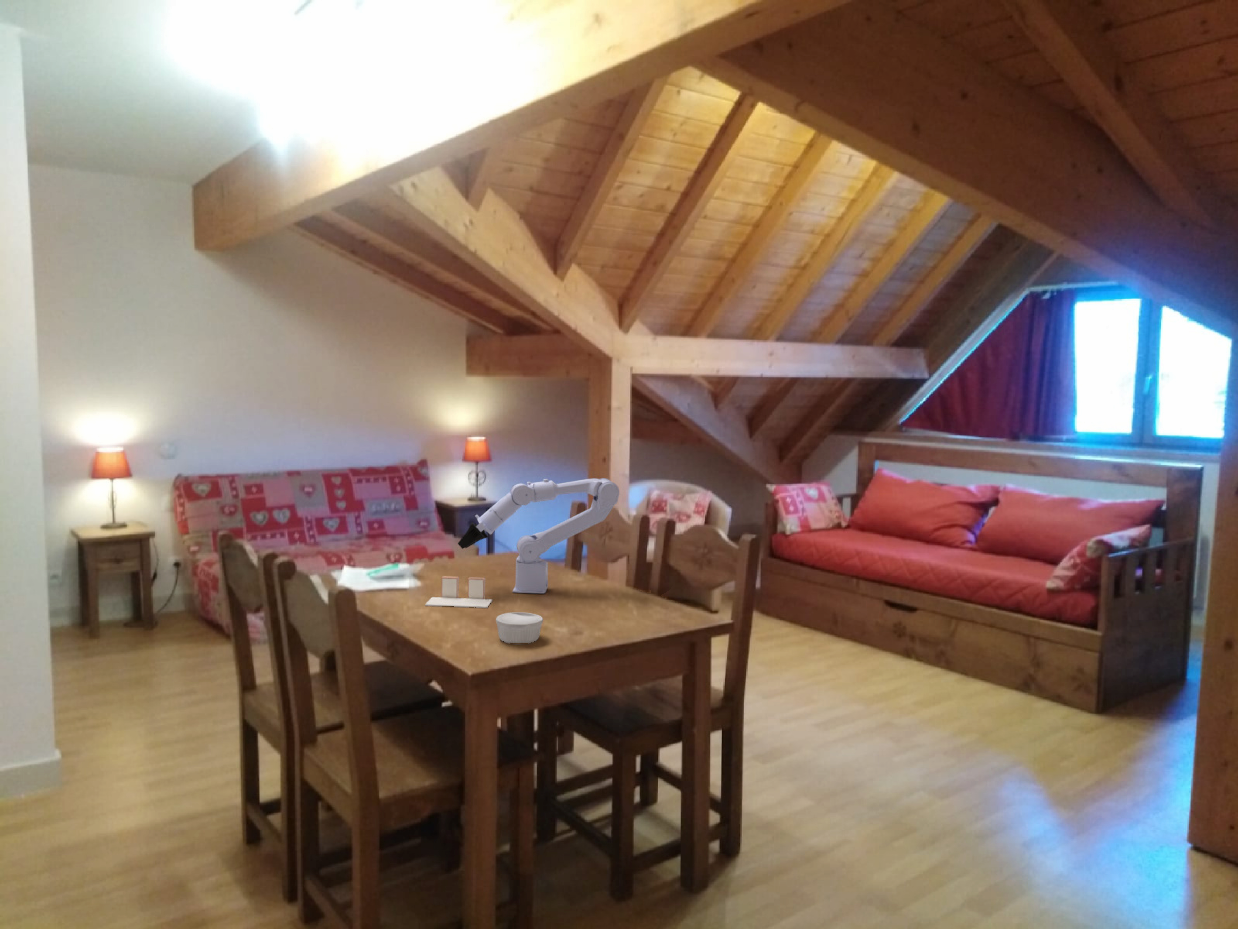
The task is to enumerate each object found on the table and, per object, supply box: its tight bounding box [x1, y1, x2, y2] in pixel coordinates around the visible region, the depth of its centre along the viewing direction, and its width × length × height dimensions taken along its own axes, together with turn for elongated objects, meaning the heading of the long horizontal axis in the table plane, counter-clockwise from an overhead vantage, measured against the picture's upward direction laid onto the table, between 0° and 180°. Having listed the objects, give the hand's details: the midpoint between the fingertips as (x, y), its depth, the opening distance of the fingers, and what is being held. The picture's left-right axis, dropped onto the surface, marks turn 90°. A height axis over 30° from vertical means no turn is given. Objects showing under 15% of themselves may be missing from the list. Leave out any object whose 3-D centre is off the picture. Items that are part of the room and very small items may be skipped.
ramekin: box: [495, 611, 544, 644], centre depth 214 cm, size 11×11×5 cm
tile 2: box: [467, 576, 486, 599], centre depth 250 cm, size 4×2×6 cm, turn 89°
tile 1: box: [440, 575, 460, 598], centre depth 250 cm, size 4×2×6 cm, turn 89°
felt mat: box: [424, 596, 493, 609], centre depth 245 cm, size 17×8×1 cm, turn 89°
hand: (461, 546), depth 257 cm, fingers open, 7 cm apart
